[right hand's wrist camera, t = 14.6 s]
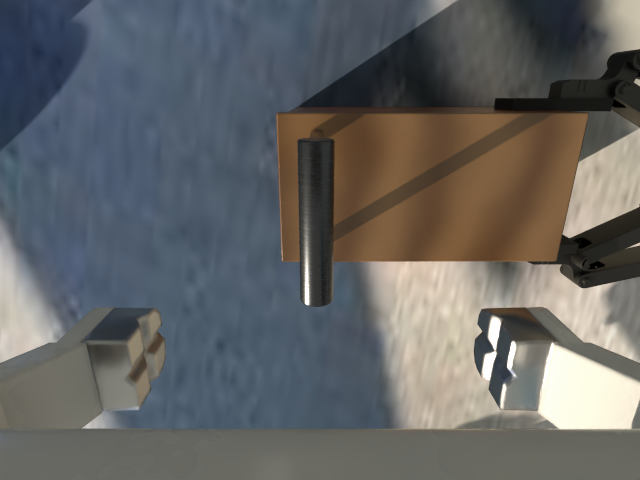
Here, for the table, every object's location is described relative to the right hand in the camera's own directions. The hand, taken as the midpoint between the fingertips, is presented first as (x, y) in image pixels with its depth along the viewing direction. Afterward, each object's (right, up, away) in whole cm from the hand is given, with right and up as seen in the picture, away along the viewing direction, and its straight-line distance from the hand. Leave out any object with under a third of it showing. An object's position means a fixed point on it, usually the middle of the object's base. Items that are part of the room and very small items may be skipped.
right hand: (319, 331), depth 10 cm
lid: (+7, +6, +15) cm, 18 cm away
